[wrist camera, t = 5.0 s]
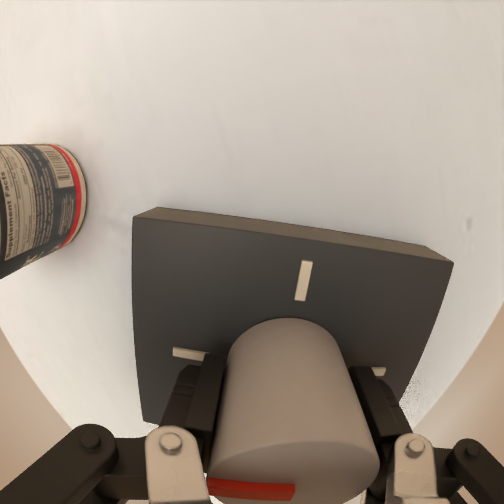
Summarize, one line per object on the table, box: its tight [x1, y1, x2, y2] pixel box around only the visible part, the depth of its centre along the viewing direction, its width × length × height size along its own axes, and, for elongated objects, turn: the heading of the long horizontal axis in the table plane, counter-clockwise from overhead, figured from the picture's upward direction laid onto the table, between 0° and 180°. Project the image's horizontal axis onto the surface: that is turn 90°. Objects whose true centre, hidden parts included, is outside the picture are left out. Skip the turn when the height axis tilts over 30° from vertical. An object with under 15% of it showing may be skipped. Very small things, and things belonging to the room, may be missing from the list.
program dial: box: [206, 318, 380, 504], centre depth 8 cm, size 4×4×6 cm
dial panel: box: [132, 207, 454, 425], centre depth 12 cm, size 12×10×3 cm
